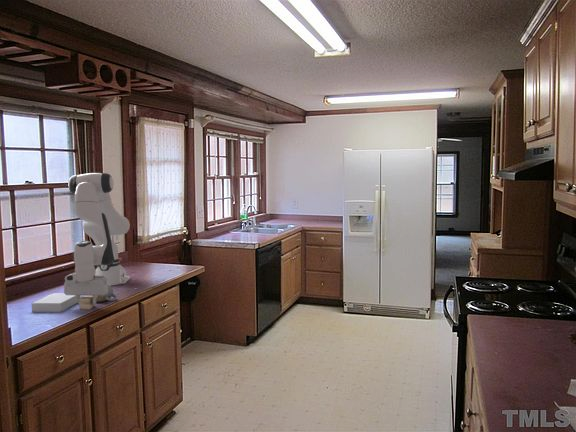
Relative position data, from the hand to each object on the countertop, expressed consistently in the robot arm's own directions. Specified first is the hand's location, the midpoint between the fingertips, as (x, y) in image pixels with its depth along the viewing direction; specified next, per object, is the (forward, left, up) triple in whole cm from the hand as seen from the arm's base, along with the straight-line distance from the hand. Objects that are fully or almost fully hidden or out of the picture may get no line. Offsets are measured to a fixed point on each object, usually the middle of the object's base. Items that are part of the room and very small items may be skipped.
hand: (87, 304), depth 226 cm
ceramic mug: (-13, +3, -2) cm, 13 cm away
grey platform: (-2, -16, -2) cm, 16 cm away
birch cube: (0, 0, -2) cm, 2 cm away
